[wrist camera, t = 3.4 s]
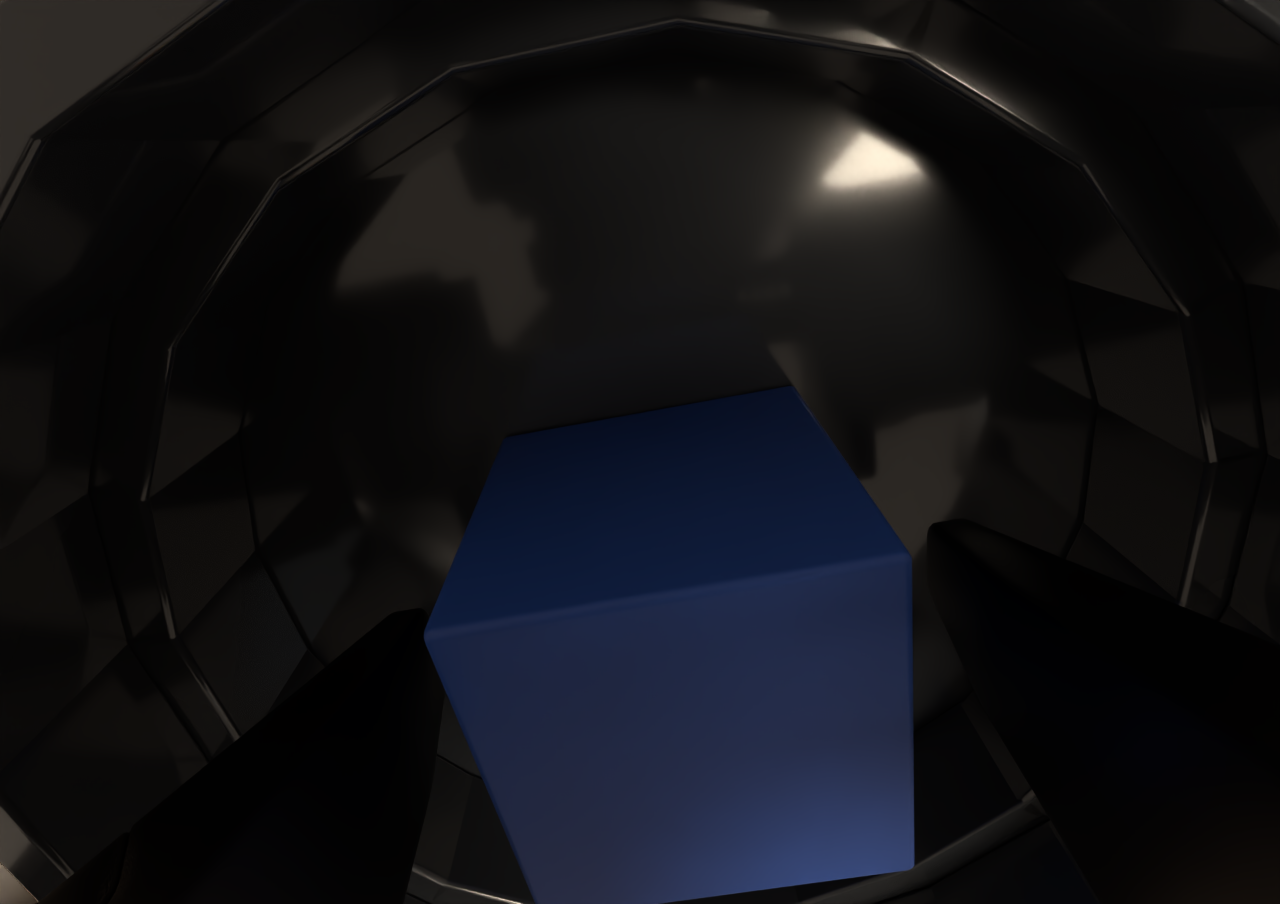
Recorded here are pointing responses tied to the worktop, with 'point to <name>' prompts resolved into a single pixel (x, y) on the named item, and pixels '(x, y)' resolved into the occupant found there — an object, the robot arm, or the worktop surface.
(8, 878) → the worktop surface
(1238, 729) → the robot arm
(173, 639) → the charcoal bowl
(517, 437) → the blue block
